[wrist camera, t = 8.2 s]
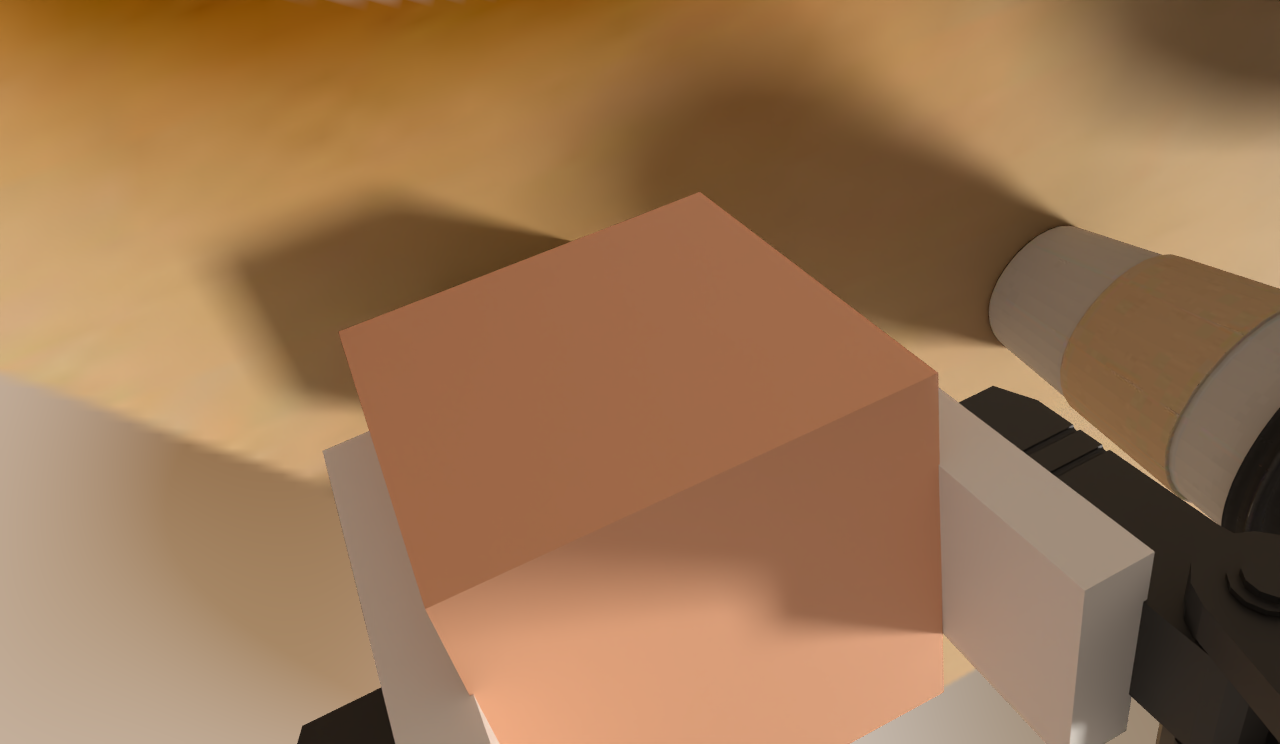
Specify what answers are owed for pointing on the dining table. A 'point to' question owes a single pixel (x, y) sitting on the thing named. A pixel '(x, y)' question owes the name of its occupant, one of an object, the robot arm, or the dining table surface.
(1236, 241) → the dining table surface
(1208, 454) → the coffee cup
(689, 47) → the dining table surface
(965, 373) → the dining table surface
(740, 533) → the terracotta cube
